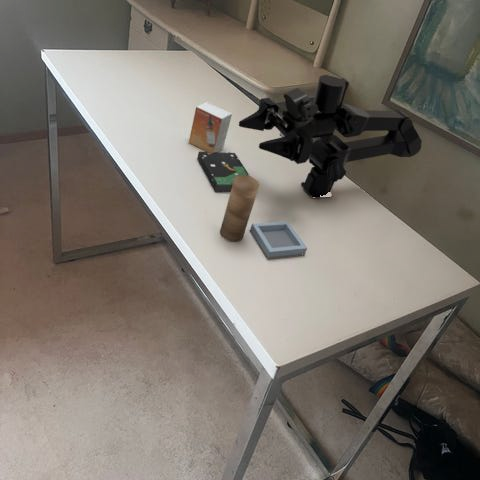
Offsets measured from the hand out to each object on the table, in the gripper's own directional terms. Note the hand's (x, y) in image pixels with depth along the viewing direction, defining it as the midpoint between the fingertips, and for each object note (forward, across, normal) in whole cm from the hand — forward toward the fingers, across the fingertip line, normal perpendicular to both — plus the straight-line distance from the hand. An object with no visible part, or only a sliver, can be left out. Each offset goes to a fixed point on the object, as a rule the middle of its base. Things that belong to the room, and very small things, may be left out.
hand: (249, 134), depth 96 cm
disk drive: (-1, -10, +18) cm, 20 cm away
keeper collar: (-1, +16, +17) cm, 23 cm away
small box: (-2, -24, +17) cm, 29 cm away
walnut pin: (+8, +12, +16) cm, 21 cm away
